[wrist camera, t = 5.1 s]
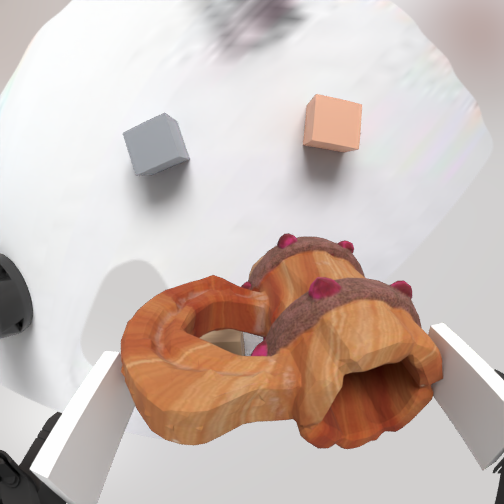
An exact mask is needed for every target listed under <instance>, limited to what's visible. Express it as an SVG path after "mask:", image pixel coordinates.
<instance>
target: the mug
mask: <svg viewBox="0 0 504 504" xmlns="http://www.w3.org/2000/svg"><path fill="white" fill-rule="evenodd" d="M353 251H354V247H353V244H352V243H350V242H349V241H341V242H339V243H334V242H332V241H329V240H327V239H324V238H319V237H298V238H296V237H295V236H294V235H291V234H284V235H283V236H281V237H280V239H279V241H278V244H277V246H275V247H274V248H272V249H271V250H269V251H268V252H267V253H266V254H265V255H264V256H263V257H261V258H260V259H259V260H258V261H257V262H256V263H255V264H254V265H253V267H252V269H251V271H250V274H249V280H248V282H246V283H244V284H243V285H242V286H241V287H239V286H237V285H235V284H233V283H231V282H229V281H227V280H225V279H223V278H220V277H217V276H214V275H212V276H209V277H206V278H204V279H201V280H197V281H193V282H189V283H186V284H183V285H180V286H177V287H174V288H171V289H168V290H165V291H163V292H162V293H160V294H158V295H156V296H155V297H153V298H152V299H151V300H149V301H148V302H147V303H145V304H144V305H143V306H142V307H141V308H140V309H139V310H138V311H137V312H136V313H135V315H134V316H133V318H132V319H131V320H129V321H128V323H127V325H126V328H125V331H124V334H123V336H122V339H121V362H122V369H121V373H122V374H123V376H124V377H125V383H126V385H127V387H128V389H129V392H130V394H131V397H132V399H133V401H134V404H135V406H136V408H137V410H138V411H139V413H140V414H141V416H142V417H143V419H144V420H145V422H146V423H147V425H148V426H149V428H150V429H151V431H153V432H154V433H156V434H157V435H159V436H161V437H162V438H164V439H165V440H168V441H171V442H175V443H179V444H184V445H199V444H204V443H207V442H209V441H212V440H214V439H216V438H218V437H220V436H221V435H224V434H225V433H227V432H229V431H231V430H233V429H235V428H237V427H239V426H240V425H242V424H246V423H252V422H257V421H276V420H289V419H294V420H295V421H296V422H297V425H298V428H299V432H300V435H301V436H302V437H303V438H304V439H305V440H306V441H307V442H309V443H311V444H312V445H314V446H315V447H317V448H329V447H331V446H333V445H334V444H337V445H338V446H340V447H341V448H344V449H351V448H356V447H360V446H362V445H364V444H365V443H367V442H369V441H373V440H377V439H378V437H379V436H380V435H381V434H382V433H383V432H385V431H393V432H396V431H398V430H399V429H401V428H403V427H404V426H405V425H406V424H408V423H409V422H410V421H411V420H412V419H413V418H414V417H415V416H416V415H417V414H418V413H419V412H420V411H421V410H422V409H423V408H424V407H425V406H426V405H427V404H428V403H429V402H430V401H431V400H432V397H433V393H434V392H433V390H432V388H431V385H432V384H433V383H435V382H438V381H440V380H442V379H443V370H442V357H441V354H440V351H439V349H438V347H437V346H436V345H435V343H434V342H433V341H432V339H431V338H430V337H429V336H428V335H427V334H426V333H425V332H424V331H423V330H422V328H421V323H420V319H419V315H418V314H417V312H416V309H415V307H414V305H413V303H412V301H411V298H412V289H411V286H410V285H409V284H407V283H406V282H405V281H397V282H395V283H393V284H391V285H387V284H385V283H383V282H380V281H377V280H372V279H366V278H365V276H364V273H363V270H362V268H361V265H360V264H359V262H358V261H357V259H356V258H355V257H354V255H353V254H352V253H353ZM225 329H234V330H237V331H241V332H247V333H250V334H254V335H257V336H261V337H263V339H264V341H263V342H261V343H260V344H258V345H257V346H256V348H255V349H254V351H253V352H252V354H251V356H241V355H237V354H233V353H231V352H229V351H226V350H224V349H222V348H220V347H218V346H216V345H214V344H212V343H210V342H208V341H205V340H203V339H200V337H202V336H203V335H205V334H207V333H209V332H212V331H219V330H225Z"/></svg>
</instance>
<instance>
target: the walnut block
mask: <svg viewBox="0 0 504 504" xmlns="http://www.w3.org/2000/svg"><path fill="white" fill-rule="evenodd" d="M200 339H203V340H205V341H208V342H210V343H212V344H214V345H216V346H218V347H220V348H222V349H224V350H226V351H229V352H231V353H233V354H237V355H241V356H245V349H244V339H243V332H241V331H237V330H234V329H225V330H219V331H212V332H209V333H207V334H205V335H203V336H202V337H200Z"/></svg>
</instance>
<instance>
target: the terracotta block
mask: <svg viewBox="0 0 504 504" xmlns="http://www.w3.org/2000/svg"><path fill="white" fill-rule="evenodd" d="M361 114H362V104H358V103H354V102H350V101H346V100H342V99H337V98H333V97H328V96H323V95H318V94H316V95H315V96H314V97H313V98H312V100H311V101H310V102H309V103H308V104H307V108H306V119H305V130H304V140H303V145H304V146H310V147H316V148H322V149H328V150H333V151H338V152H348V151H353V150H358V149H359V142H360V129H361Z"/></svg>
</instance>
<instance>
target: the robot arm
mask: <svg viewBox="0 0 504 504" xmlns="http://www.w3.org/2000/svg"><path fill="white" fill-rule="evenodd" d="M31 320H32V303H31V298H30V295H29V291H28V288H27V286H26V283H25V281H24V279H23V277H22V275H21V273H20V272H19V270H18V269H17V267H16V266H15V264H14V263H13V262H12V261H11V260H10V259H9V258H8V257H6V256H5V255H3V254H0V339H1V338H5V337H8V336H12V335H16V334H19V333H21V332H22V331H24V330H25V329H26V328H27V327H28V326H29V325H30V323H31ZM428 336H429V337H430V338H431V339H432V341H433V342H434V343H435V345H436V346H437V347H438V349H439V351H440V354H441V357H442V370H443V379H442V380H440V381H438V382H435V383H433V384H432V385H431V388H432V390H433V392H434V393H433V396H434V398H435V399H436V401H437V402H438V403H439V405H440V406H441V408H442V409H443V410H444V412H445V413H446V414H447V416H448V418H449V419H450V421H451V422H452V423H453V425H454V426H455V428H456V429H457V431H458V432H459V434H460V435H461V437H462V438H463V440H464V441H465V443H466V445H467V446H468V448H469V449H470V451H471V452H472V454H473V456H474V457H475V459H476V460H477V462H478V464H479V465H480V467H481V468H482V470H484V469H486V468H487V467H489V466H490V465H492V464H493V463H494V462H496V461H497V459H498V458H499V457H500V456H501V455H502V454H503V452H504V374H503V373H501V372H499V371H497V370H493V369H492V368H491V367H490V366H489V365H488V364H487V363H486V362H485V361H484V360H483V359H482V358H481V357H479V356H478V354H476V353H475V352H474V351H473V350H472V349H471V348H470V347H469V346H468V345H467V344H466V343H465V342H464V341H463V340H461V339H460V338H459V337H458V336H457V335H456V334H455V333H454V332H453V331H452V330H450V329H449V328H448V327H447V326H446V325H445V324H444V323H440V324H436V325H432V326H430V330H429V334H428ZM121 369H122V362H121V354H120V352H110V351H104V353H103V354H102V356H101V357H100V358H99V360H98V361H97V363H96V364H95V366H94V367H93V368H92V370H91V371H90V373H89V374H88V376H87V377H86V379H85V380H84V381H83V383H82V384H81V386H80V387H79V389H78V390H77V392H76V393H75V395H74V396H73V398H72V399H71V401H70V403H69V404H68V406H67V407H66V409H65V410H64V412H63V413H60V412H57V413H55V414H54V415H53V416H52V417H50V418H49V419H48V420H47V422H46V423H45V425H44V426H43V428H42V431H40V433H39V434H38V438H36V439H35V441H34V442H33V444H32V446H31V447H30V449H29V451H28V452H27V454H26V456H25V457H24V459H23V461H22V463H21V464H20V465H19V466H18V465H17V464H16V463H15V462H14V460H12V458H11V457H10V456H9V455H8V454H7V453H6V452H4V451H2V450H0V504H66V503H68V504H97V503H98V500H99V497H100V494H101V491H102V488H103V486H104V483H105V480H106V477H107V475H108V472H109V470H110V467H111V464H112V461H113V459H114V457H115V454H116V451H117V449H118V446H119V443H120V441H121V438H122V436H123V434H124V431H125V429H126V426H127V424H128V422H129V419H130V417H131V414H132V412H133V410H134V407H135V404H134V401H133V399H132V397H131V394H130V392H129V389H128V387H127V385H126V383H125V377H124V376H123V374H122V373H121ZM501 466H502V468H501V469H500V470H499V471H498V473H501V475H500V481H499V487H498V492H497V497H496V501H495V504H504V458H503V459H502V460H501V461H500V462H499V463H498V465H497V466H496V467H495V468H494V470H493V473H495V472H496V471H497V470H498V469H499V468H500V467H501Z"/></svg>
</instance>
